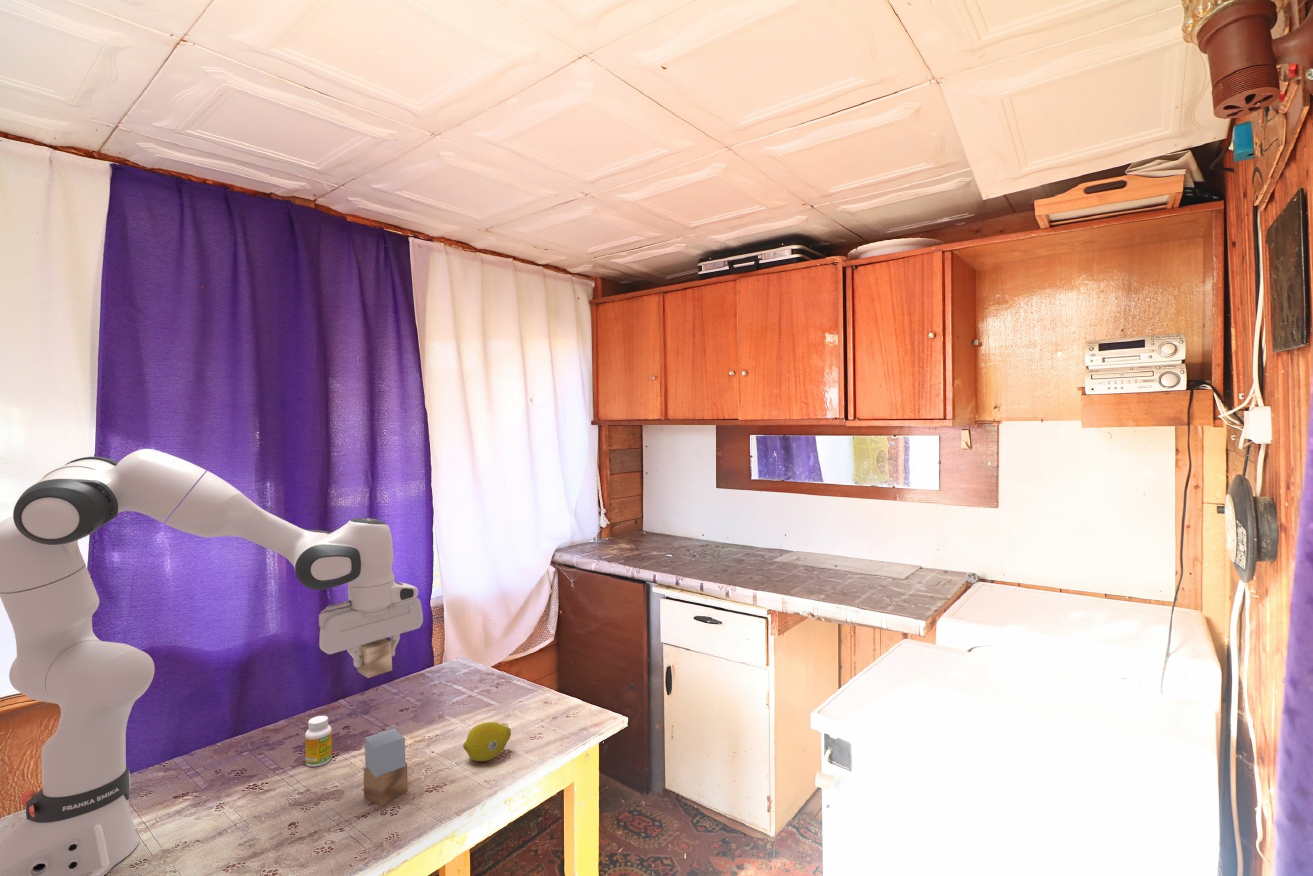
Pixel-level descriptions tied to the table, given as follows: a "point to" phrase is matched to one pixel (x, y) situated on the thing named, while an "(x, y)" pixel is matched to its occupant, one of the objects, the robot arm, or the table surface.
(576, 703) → the table surface
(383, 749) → the top block
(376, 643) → the maple block
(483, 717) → the table surface
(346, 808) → the table surface
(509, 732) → the lemon
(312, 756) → the supplement bottle
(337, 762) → the table surface
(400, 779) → the bottom block
